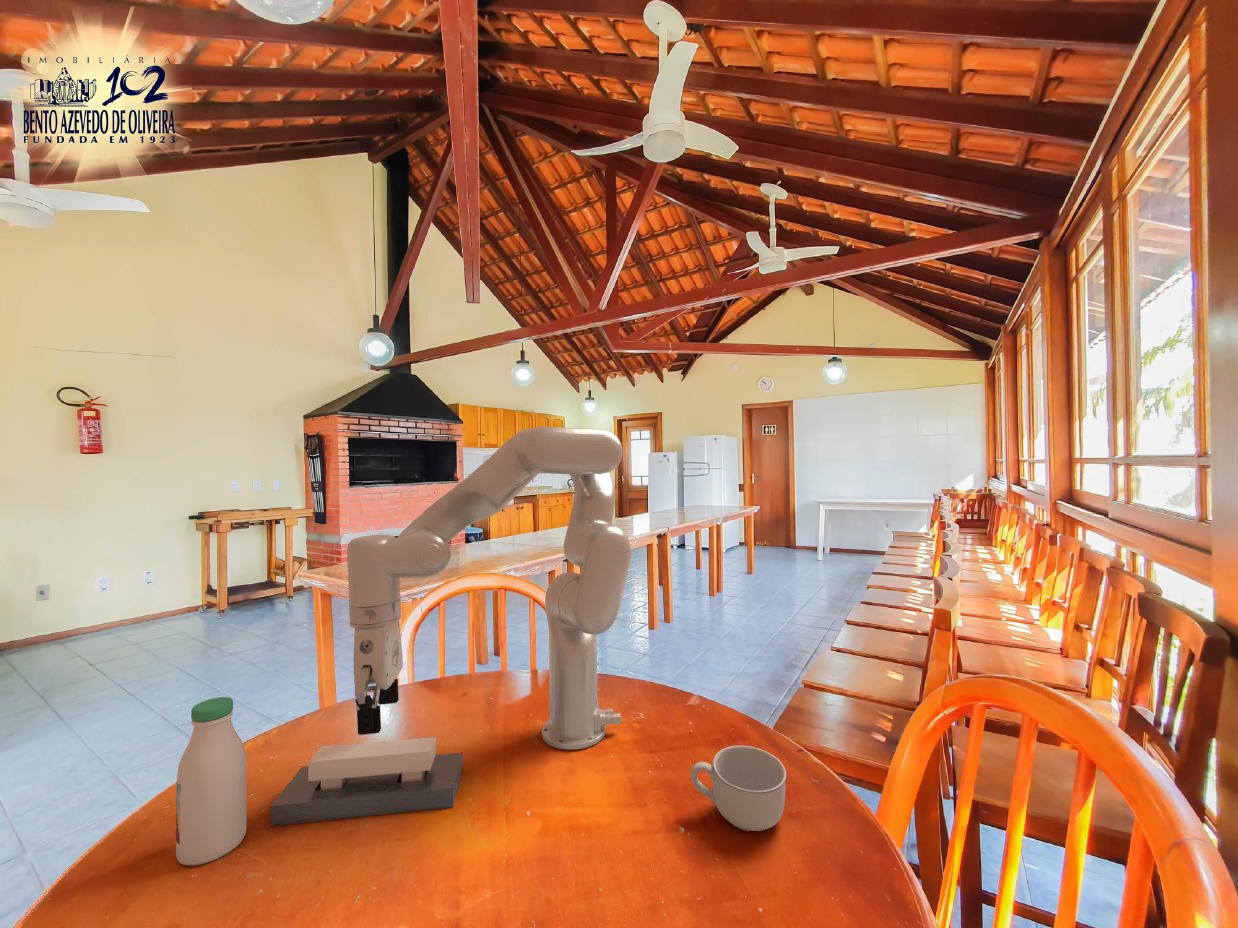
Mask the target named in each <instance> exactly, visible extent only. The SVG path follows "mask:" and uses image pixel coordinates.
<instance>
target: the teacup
mask: <svg viewBox="0 0 1238 928" xmlns="http://www.w3.org/2000/svg"><path fill="white" fill-rule="evenodd" d="M700 772H706V773H707V774H708V776H709V777H710V780H711V782H712V784H713V785H712V786H713V787H712V788H713V789H711V788H709V787H707V786H706V785H704V784H703V783H702V782H701V781H700V780H699V778H698V773H700ZM690 779H691V782H692V783H691V784H692V786H693V787H694V788H695V789H696V790H697V791H698V792H700V794H702V795H704V796H706V797H707V798H708V799H709V801H710V803H712V804H714V805H715V806H716V807H717V810H718V811H719V813H720V814H721V816H723V818H724V819H726V820H727V821H728V822H729V823H730V824H732V825H733V826H734V827H735V828H737V827H738V828H737V829H739V828H740V829H739V830H742V831H744V830H746V831H745V832H749V831H759V832H762V831H761V830H763V831H765V829H766V830H767V829H771V828H772V827H774V826H775V825H777V824H778V823H779V822H780V820H781V818H782V816H783V813H784V809H785V802H786V780H787V770H786V768H785V765H784V764H783V763H782V762H781V760H780V759H779V758H778V757H776V756H775V755H773V754H772V753H771V752H768V751H766V750H764V749H762V748H758V747H754V746H750V745H731V746H727V747H725V748H722V749H720V750H718V752H717V753H716V754H715V756H714V757H713V759H712V765H711V764H710V763H708V762H705V761H699V762H696V763H695V764H694V765H693V766H692V767H691V771H690Z"/></svg>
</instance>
